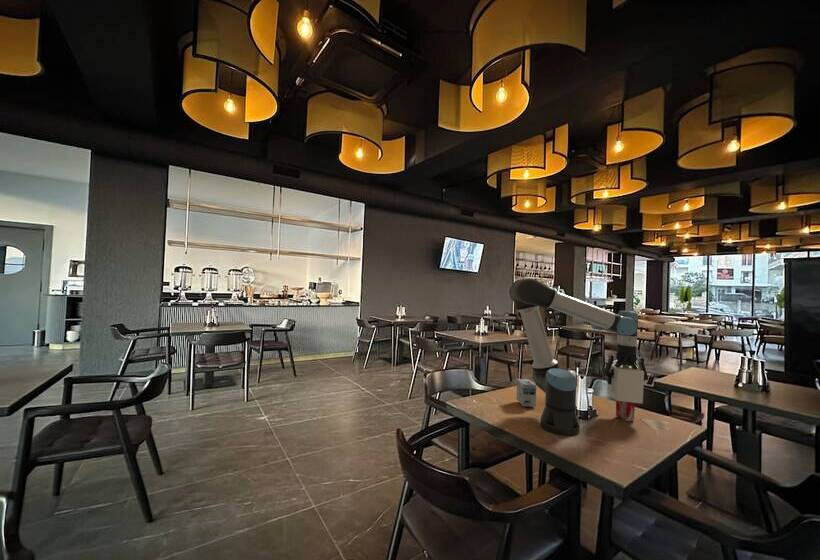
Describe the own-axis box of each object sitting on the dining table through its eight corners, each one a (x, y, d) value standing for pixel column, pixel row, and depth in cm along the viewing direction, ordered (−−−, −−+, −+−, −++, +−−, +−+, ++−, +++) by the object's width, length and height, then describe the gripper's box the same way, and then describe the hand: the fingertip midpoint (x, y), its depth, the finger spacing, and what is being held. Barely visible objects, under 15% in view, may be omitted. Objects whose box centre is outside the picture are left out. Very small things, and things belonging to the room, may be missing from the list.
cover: (616, 400, 144) (618, 365, 144) (607, 393, 154) (608, 360, 154) (642, 403, 142) (644, 368, 142) (631, 396, 152) (633, 362, 152)
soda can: (637, 423, 144) (637, 396, 144) (619, 421, 145) (620, 394, 145) (629, 417, 150) (630, 391, 151) (613, 415, 152) (613, 389, 152)
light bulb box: (536, 407, 159) (537, 385, 159) (522, 406, 159) (523, 384, 159) (528, 399, 169) (529, 378, 170) (515, 398, 170) (516, 378, 170)
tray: (652, 429, 137) (652, 428, 137) (639, 419, 148) (639, 418, 148) (682, 432, 135) (682, 432, 135) (667, 422, 146) (667, 421, 146)
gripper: (602, 343, 147) (600, 392, 147) (659, 348, 142) (657, 399, 142) (596, 341, 154) (594, 387, 154) (650, 345, 150) (648, 393, 149)
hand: (624, 393), depth 148 cm, fingers closed on cover, 10 cm apart
